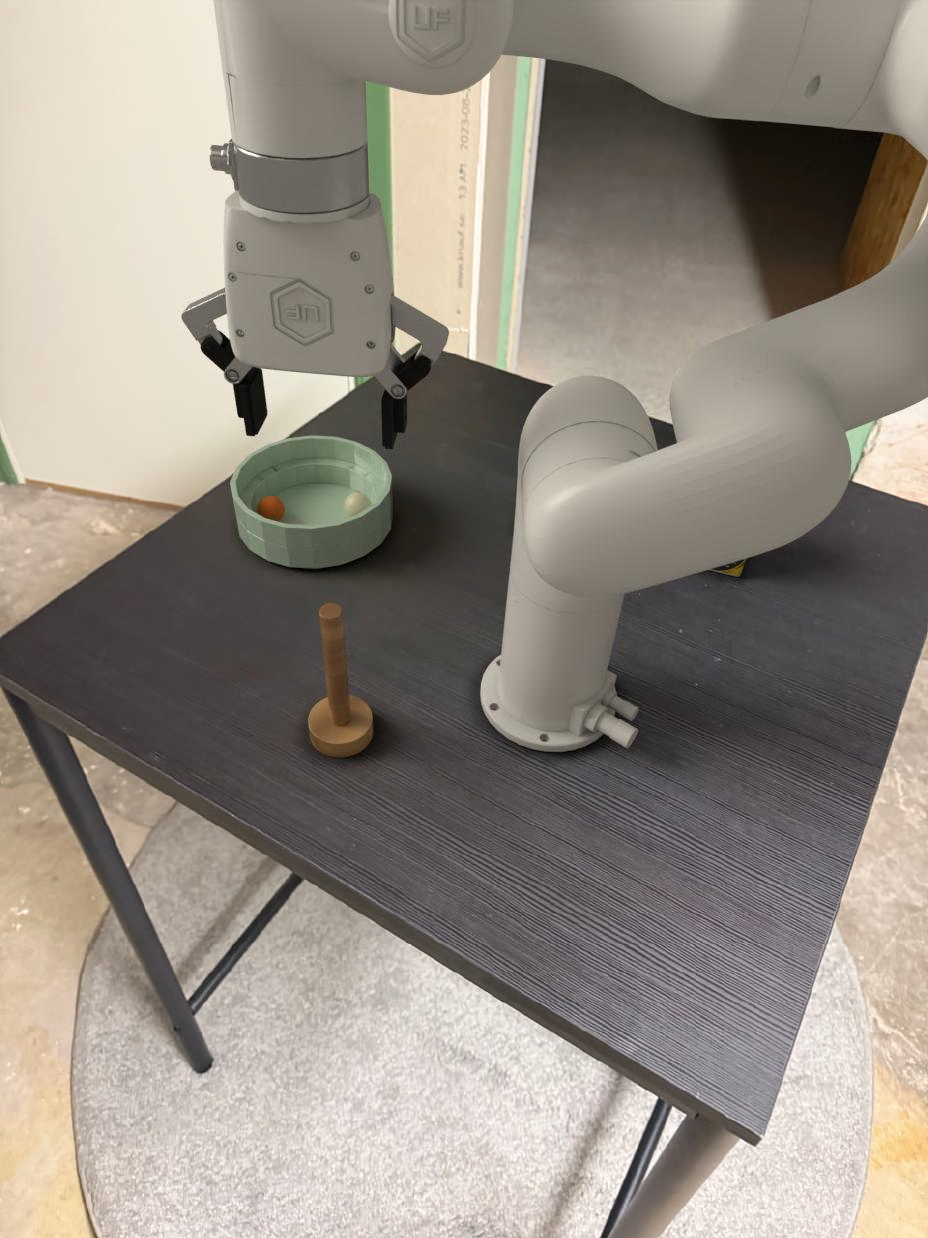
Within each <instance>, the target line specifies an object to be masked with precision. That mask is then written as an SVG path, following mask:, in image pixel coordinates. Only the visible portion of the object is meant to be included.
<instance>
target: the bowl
mask: <svg viewBox="0 0 928 1238" xmlns="http://www.w3.org/2000/svg"><path fill="white" fill-rule="evenodd" d="M390 469H391V468H390V467H389V465H388V463H387V461H386V460H385V459H384V458H383V457H382V456H381V455H380V454H379V453H378V452H377V451H376V450H374V449H372V448H370V447H368V446H366V445H364V444H362V443H360V442H358V441H355V440H351V439H346V438H342V437H339V436H331V435H303V436H296V437H295V436H294V437H288V438H284V439H281V440H277V441H275V442H271V443H268V444H266V445H264V446H262V447H260V448H258V449H256V450H255V451H253V452H251V453H249V454H247V456H245V458H243V460H242V461H240V462H239V464H238V465H237V466H236V467H235V468H234V471H233V473H232V476H231V479H230V480H229V481H230V482H229V483H230V491H231V497H232V503H233V509H234V514H235V519H236V526H237V531H238V536H239V538H240V540H242V542H243V543H244V544H245V546H246V547H247V548H248V550H249V551H250V552H252V553H253V554H255V555H258V556H259V557H261V558H262V559H264V560H266V561H267V562H271V563H273V564H277V565H281V566H285V567H288V568H295V569H296V568H298V569H299V568H301V569H322V568H323V569H325V568H330V567H337V566H342V565H344V564H347V563H351V562H353V561H355V560H358V559H361V558H362V557H363V558H364V557H365V556H366V555H368V554H369V553H370V552H372V551H374V550H375V549H376V548H378V547H379V546H381V544H382V543H383V542H384V540H385V539H386V537H387V536H388V535H389V533H390V532H391V530H392V524H393V517H394V503H393V502H394V501H393V498H394V497H393V496H394V495H393V475H392V471H391V470H390ZM353 493H363V494H365V495H366V496H367V497H368V498H369V499H370V501H371V506H369V507H368V508H366V509H365V510H364V511H362V512H361V513H359V514H357V515H354V516H351V517H350V516H349V515H348V514H347V513H346V511H345V501H346V499H347V497H348V496H349V495H351V494H353ZM267 496H274V497H277V498H279V499H280V500H281V501H282V502H283V504H284V507H285V513H284V516H283V517H282V519H281V520H280V521H274V520H270V519H267V518H264V517H262V516H261V515H259V514H258V512H257V506H258V504H259V502H260V501H261V500H262V499H263V498H264V497H267Z"/></svg>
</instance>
